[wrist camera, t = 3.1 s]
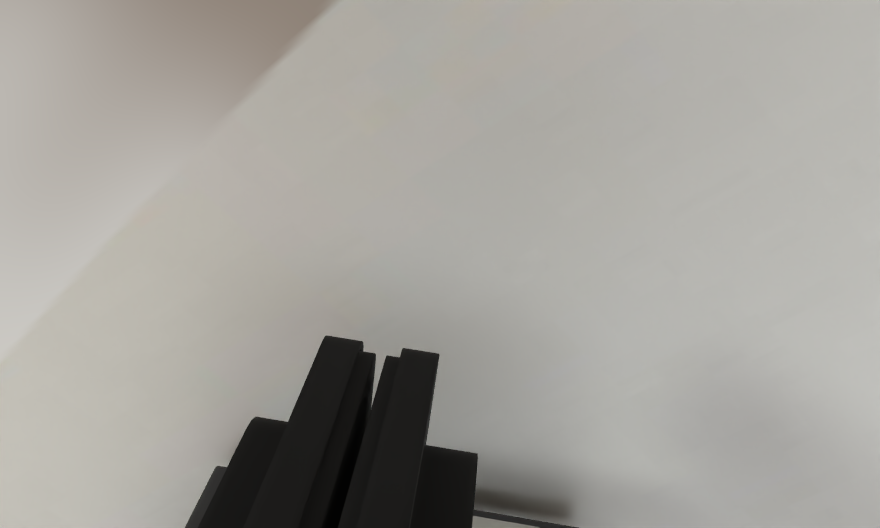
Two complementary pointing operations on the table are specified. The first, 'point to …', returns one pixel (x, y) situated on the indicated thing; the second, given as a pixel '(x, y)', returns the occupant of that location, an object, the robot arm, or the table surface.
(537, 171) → the table surface
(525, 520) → the drawer
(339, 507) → the robot arm
